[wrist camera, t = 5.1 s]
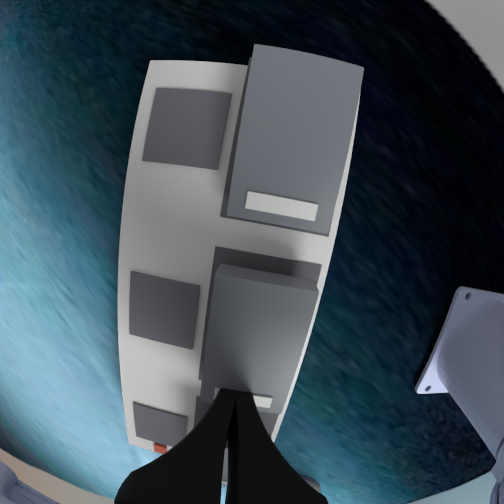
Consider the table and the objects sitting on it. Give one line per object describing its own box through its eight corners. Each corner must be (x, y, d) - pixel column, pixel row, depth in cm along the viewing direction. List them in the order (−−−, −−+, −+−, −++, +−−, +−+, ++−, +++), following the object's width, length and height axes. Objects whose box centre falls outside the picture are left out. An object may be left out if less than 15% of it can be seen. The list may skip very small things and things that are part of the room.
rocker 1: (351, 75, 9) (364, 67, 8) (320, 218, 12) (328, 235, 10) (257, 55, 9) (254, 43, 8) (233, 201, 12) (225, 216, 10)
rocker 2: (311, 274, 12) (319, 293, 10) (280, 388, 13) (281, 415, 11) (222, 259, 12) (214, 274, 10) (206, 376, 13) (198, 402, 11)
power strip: (343, 99, 13) (363, 79, 10) (261, 444, 18) (260, 477, 15) (171, 73, 13) (150, 50, 10) (142, 419, 18) (128, 449, 15)
